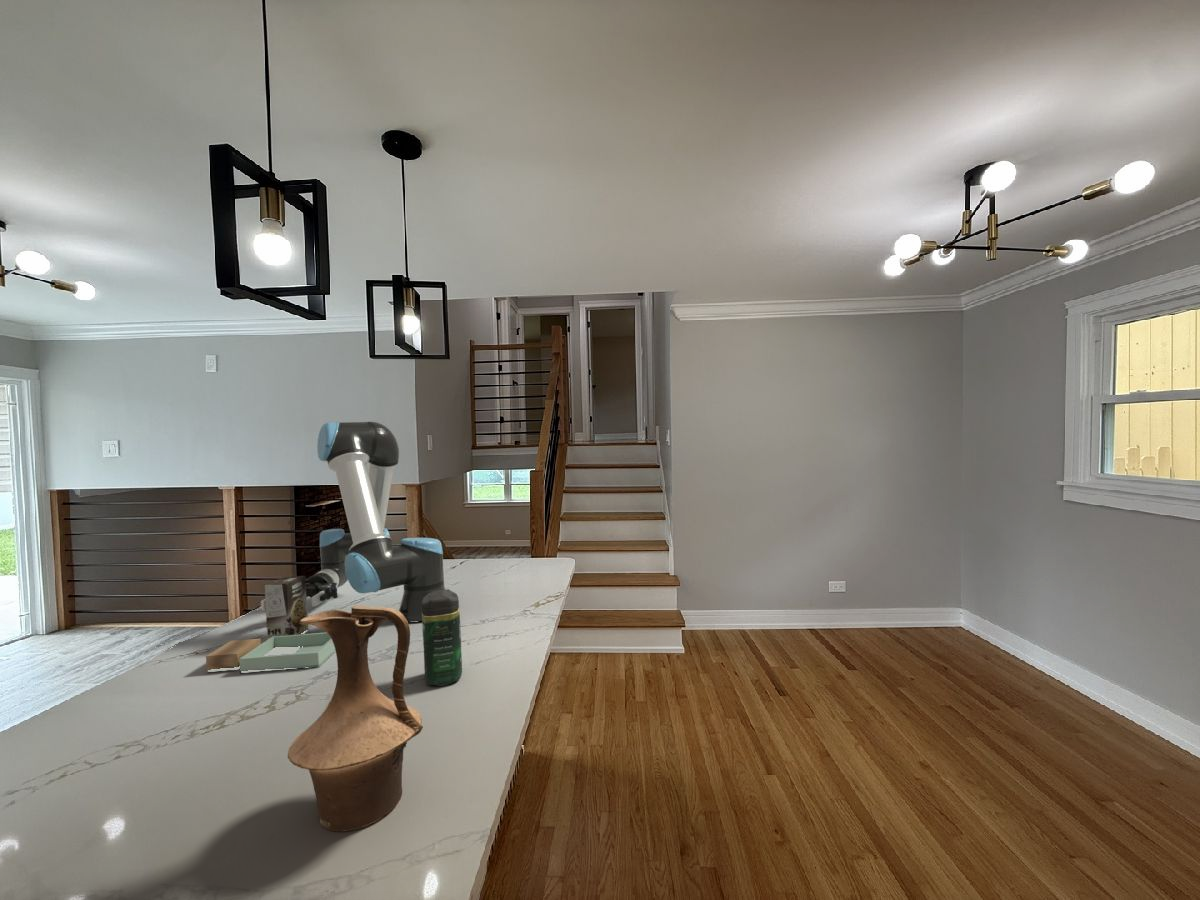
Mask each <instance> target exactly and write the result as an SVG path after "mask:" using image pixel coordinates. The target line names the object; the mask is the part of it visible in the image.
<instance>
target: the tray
mask: <svg viewBox="0 0 1200 900" xmlns="http://www.w3.org/2000/svg"><path fill="white" fill-rule="evenodd" d="M298 646H300V648H299V650H297V651H296V653H293V654H281V655H268V656H264V655H265V654H267V653H268V652H269V651H271V650H272V649H273V648H275V647H298ZM302 646H303V648H302ZM335 651H336V650H335V646H334V644H333V641H332V639H331V637H330V636H329V634H328V633H327V632H326V631H325V632H314V633H306V634H299V635H286V636H273V637H271V638H269V639H268V640H265V641H263V642H262V643H261V645H259V646H258V647H256V648H255V649H253V650H252V651H250V652H249V653H247V654H246V655H244V656H243V657H242V658H240V659H239V663H240V670H239V672H240V671H248V670H265V669H284V668H305V667H319V668H320V667H322V665H324V663H326V661H328V660H329V659H330V658H331V657H332V656H333V655H334V654H335V653H336V652H335ZM334 652H335V653H334ZM333 653H334V654H333ZM332 654H333V655H332ZM331 655H332V656H331ZM330 656H331V657H330ZM329 657H330V658H329ZM328 658H329V659H328ZM327 659H328V660H327Z"/></svg>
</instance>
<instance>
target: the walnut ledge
mask: <svg viewBox="0 0 1200 900" xmlns="http://www.w3.org/2000/svg"><path fill="white" fill-rule="evenodd" d="M261 644H262V643H261V638H249V639H237V640H235V639H234V640H230V641H228V642H227V643H225V644H224V645H222V646H219V648H216V649H215V650H214V651H212V652H210V653H209V654H207V655H206V656H205V660H206V662H205V664H206V665H205V666H206V671H207V670H211V669H220V668H234V667H239V666H240V663H239V659H240V658H242V657H243V656H244V655H246V654H247V653H249V652H250V651H252V650H253V649H255V648H256V647H258V646H259V645H261Z"/></svg>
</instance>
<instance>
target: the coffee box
mask: <svg viewBox="0 0 1200 900" xmlns="http://www.w3.org/2000/svg"><path fill="white" fill-rule="evenodd" d="M307 598H308V597H306V576H305V575H296V576H295V575H294V576H284V577H283V576H282V577H281V578H279V579H275V580H274V581H271V582H269V583H266V584H264V599H265V601H266V610H265V616H266V618H265V619H266V634H267V636H266V637H267V640H268V639H269V638H271V637H273V636H286V635H299V634H301V633H303V632H304V631H306V630H308V631H309V625H307V624H300V620H302V619H303V618H305V617H308V601H307ZM267 640H266V641H267Z"/></svg>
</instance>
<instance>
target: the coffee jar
mask: <svg viewBox="0 0 1200 900" xmlns="http://www.w3.org/2000/svg"><path fill="white" fill-rule="evenodd" d="M421 606H422V622H421V623H422V624H421V625H422V641H423V644H422V645H423V663H424V664H423V665H424V666H423V667H424V669H423V670H424V680H425V681H424V682H426V685H429V686H438V687H439V686H448V685H451V684H452V683H454V682H458V681H459V680H460V679H461V678H462V675H463V659H462V655H463V654H462V635H461V634H462V631H461V615H460V613H461V612H460V601H459V596H458V594H457V593H456V592H454V591H452V590H450V589H449V588H447V589H445V590H437V591H431V592H430V593H429V594H428V595H426V596H425V597H424V598H423V600H422V604H421Z"/></svg>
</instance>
